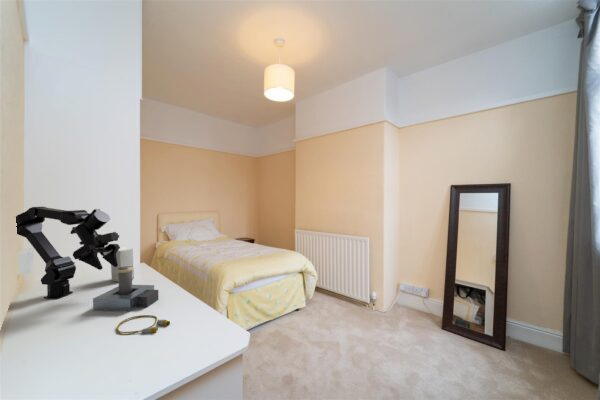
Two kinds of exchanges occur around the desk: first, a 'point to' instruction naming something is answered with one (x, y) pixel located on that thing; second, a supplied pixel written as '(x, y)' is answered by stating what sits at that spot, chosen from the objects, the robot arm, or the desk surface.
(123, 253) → the skincare box
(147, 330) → the extension cord
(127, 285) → the plug
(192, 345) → the desk surface
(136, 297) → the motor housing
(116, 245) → the robot arm
